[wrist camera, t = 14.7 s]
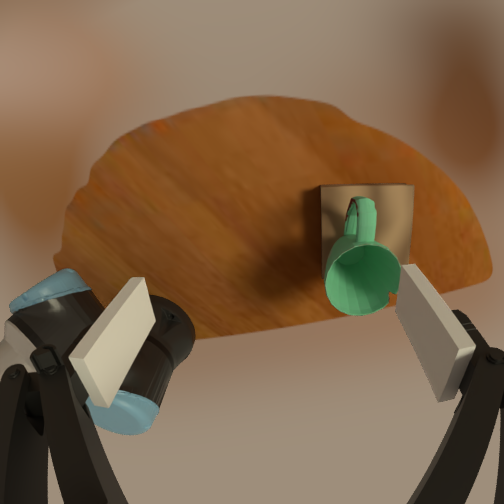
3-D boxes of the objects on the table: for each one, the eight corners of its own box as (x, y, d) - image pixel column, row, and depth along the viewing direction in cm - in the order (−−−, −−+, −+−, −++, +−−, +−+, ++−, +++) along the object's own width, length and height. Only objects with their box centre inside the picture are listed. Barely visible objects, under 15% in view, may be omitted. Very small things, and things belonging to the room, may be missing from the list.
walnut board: (319, 269, 51) (322, 278, 48) (318, 183, 45) (320, 187, 43) (401, 265, 49) (407, 273, 47) (406, 181, 44) (414, 185, 41)
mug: (377, 277, 47) (396, 312, 38) (316, 281, 48) (323, 318, 39) (382, 183, 42) (409, 201, 32) (314, 185, 43) (324, 203, 33)
